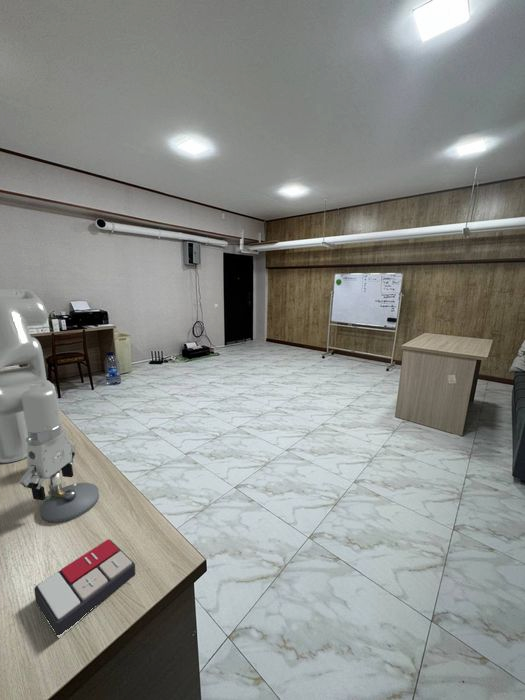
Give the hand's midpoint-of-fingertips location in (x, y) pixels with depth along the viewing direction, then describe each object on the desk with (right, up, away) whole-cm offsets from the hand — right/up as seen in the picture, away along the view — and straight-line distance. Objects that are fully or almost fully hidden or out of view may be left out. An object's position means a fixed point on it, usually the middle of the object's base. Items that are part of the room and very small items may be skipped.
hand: (54, 487), depth 83 cm
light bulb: (+2, -3, +1) cm, 3 cm away
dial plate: (+4, -5, 0) cm, 7 cm away
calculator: (+23, -11, -22) cm, 34 cm away
